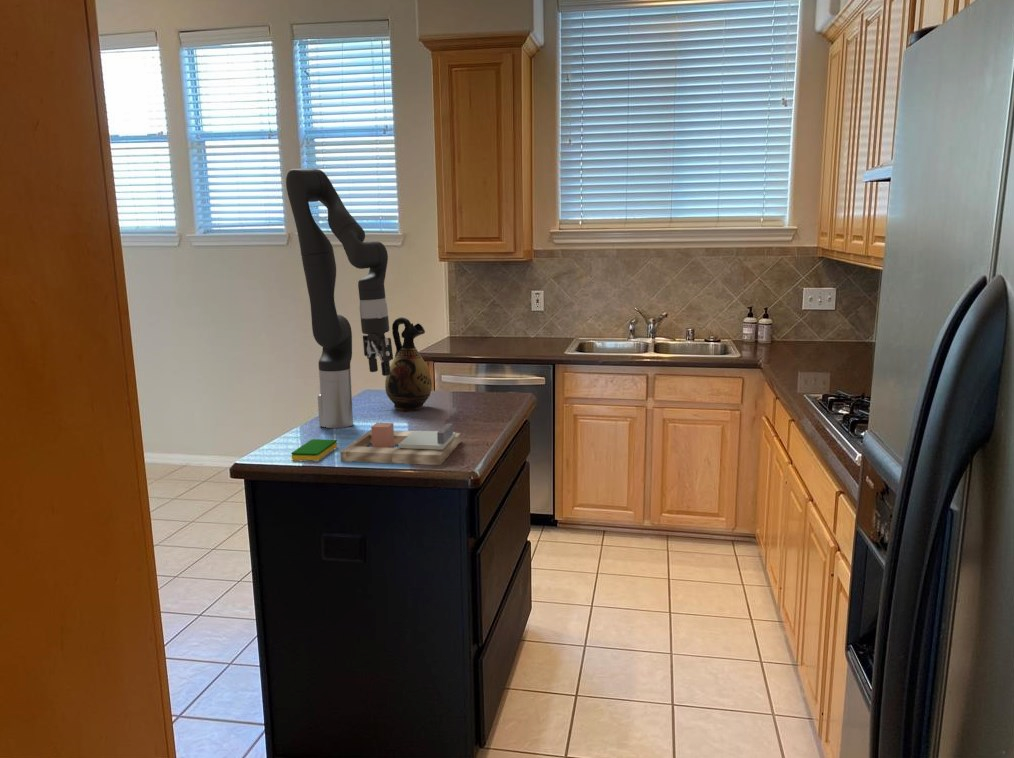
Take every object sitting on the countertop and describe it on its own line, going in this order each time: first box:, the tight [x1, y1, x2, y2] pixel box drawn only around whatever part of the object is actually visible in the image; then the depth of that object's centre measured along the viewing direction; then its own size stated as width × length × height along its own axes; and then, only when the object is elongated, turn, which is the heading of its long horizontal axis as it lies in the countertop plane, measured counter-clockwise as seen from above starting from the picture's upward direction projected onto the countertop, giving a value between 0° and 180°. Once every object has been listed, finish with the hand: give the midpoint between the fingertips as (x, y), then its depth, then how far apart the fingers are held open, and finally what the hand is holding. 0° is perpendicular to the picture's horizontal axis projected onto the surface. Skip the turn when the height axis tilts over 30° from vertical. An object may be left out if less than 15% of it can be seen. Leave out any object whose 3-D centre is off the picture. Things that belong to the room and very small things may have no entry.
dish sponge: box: [290, 438, 338, 462], centre depth 196 cm, size 7×14×2 cm, turn 172°
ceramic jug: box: [384, 317, 433, 412], centre depth 246 cm, size 17×15×30 cm
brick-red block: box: [370, 422, 395, 448], centre depth 198 cm, size 4×4×7 cm
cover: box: [398, 422, 457, 450], centre depth 195 cm, size 12×14×4 cm
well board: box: [339, 429, 462, 466], centre depth 197 cm, size 26×22×2 cm
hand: (380, 373), depth 208 cm, fingers open, 8 cm apart
